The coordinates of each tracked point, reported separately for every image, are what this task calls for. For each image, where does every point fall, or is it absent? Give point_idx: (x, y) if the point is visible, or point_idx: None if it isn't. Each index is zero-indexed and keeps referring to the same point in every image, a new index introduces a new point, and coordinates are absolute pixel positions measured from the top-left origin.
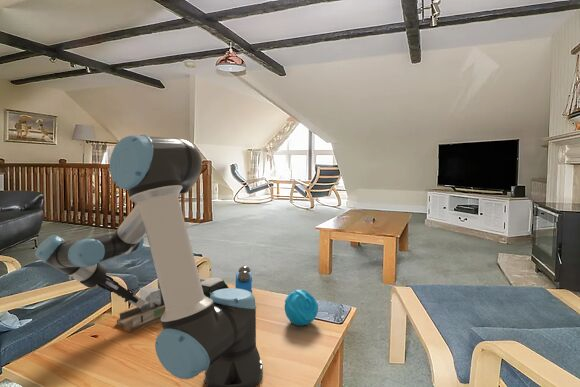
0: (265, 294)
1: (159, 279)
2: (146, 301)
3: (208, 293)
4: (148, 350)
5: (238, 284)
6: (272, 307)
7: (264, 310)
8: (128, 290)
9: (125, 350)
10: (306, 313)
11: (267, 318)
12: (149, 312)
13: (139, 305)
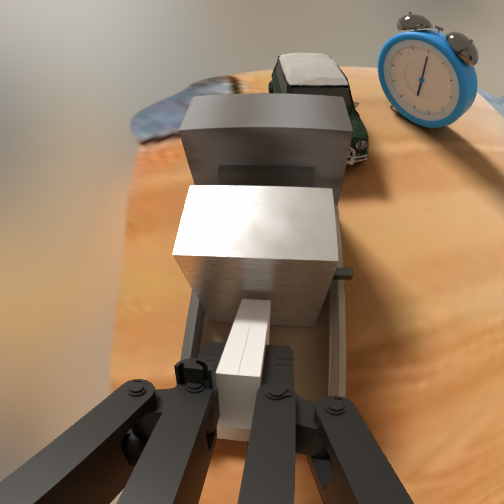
0: None
1: None
2: (276, 295)
3: (353, 108)
4: (491, 436)
5: (465, 73)
6: None
7: (462, 120)
8: (199, 378)
9: (433, 499)
10: None
11: (497, 143)
12: (343, 333)
13: (268, 344)
